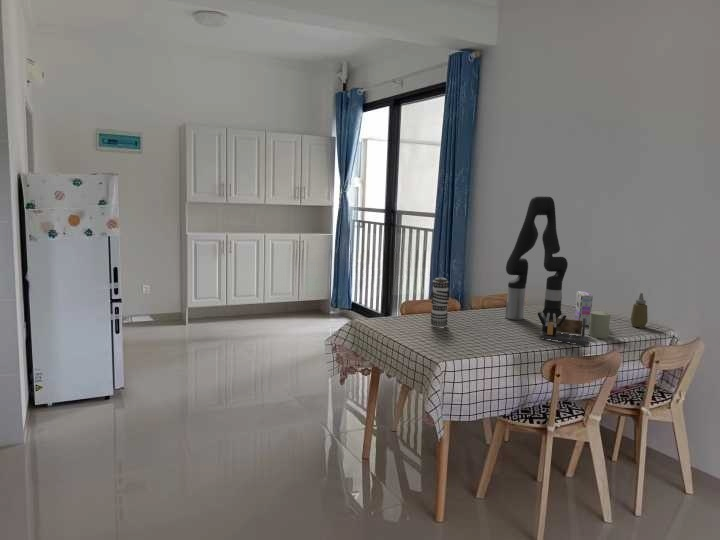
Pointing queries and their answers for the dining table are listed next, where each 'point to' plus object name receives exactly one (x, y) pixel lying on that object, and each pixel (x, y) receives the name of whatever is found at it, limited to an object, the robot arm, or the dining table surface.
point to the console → (565, 338)
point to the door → (569, 326)
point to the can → (599, 324)
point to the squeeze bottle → (639, 312)
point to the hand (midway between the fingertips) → (550, 333)
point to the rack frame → (565, 333)
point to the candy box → (583, 306)
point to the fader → (550, 328)
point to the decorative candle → (439, 302)
